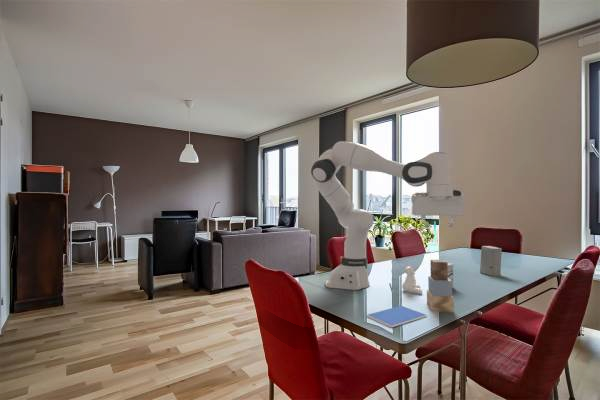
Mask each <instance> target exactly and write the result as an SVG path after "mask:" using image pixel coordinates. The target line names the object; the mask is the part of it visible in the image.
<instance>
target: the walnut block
mask: <svg viewBox="0 0 600 400" xmlns="http://www.w3.org/2000/svg"><path fill="white" fill-rule="evenodd" d="M448 263H449V262H448V261H446V260H444V259H430V276H431V278H433V279H434V280H448Z"/></svg>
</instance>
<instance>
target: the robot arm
mask: <svg viewBox="0 0 600 400" xmlns="http://www.w3.org/2000/svg"><path fill="white" fill-rule="evenodd" d="M342 167H347V168H349V169H353V170H358V171H364V172H375V173H376V172H378V173H382V174H387V175H391V176H393V177H395V178H400V179H402V180H403V181H405V182H406V183H407V185H410V187H414V188H416V187H422V186H423V185H425V184H426V192H415V193H413V194H412V195H411V196H410V197H411V203H412V204H411V214H412V215H413V216H418V217H419V216H420V219H421V221H422V222H423V227H424V228H429V227H430V223H429V222H428V221H426V219H427V216H429V217H430V216H434V217H435V216H438V217H439V216H444V217H445V216H446V217H447V216H450V218H451V221H450V222H448V228H454V227H455V223H456V221H457V219H458V216H460V217H461V216H466V215H467V213H468V207H467V201H466V198H464V196H465V192H464V191H462V190H461V189H460V190H459V189H455V188H453V187H452V185H451V181H450V177H451V160H450V157H449V155H448V154H447V153H444V152H441V151H429V152H428V153H426V154H425V155H424V156H422V157H419V158H418V159H416V160H413V161H409V162H408V163H405V164H404V163H401V162H398V161H394V160H391V159H388V158H386V157H384V156H383V155H381V154H380V153H379V152H377V150H375V149H373V148H371V147H369V146H366V145H365V144H360V143H356V142H351V141H337V142H336V143H334V144H333V146H330V147H329V148H327V149H325V151H324V152H322V154H320V156H319V157H318V158H317V160H316V161H315V162H314V163H313V165H312V167H311V169H310V173H311V176H312V178H313V179H314V185H315V186H316V188H317V190H318V191H319V194H320V195H321V196H322V197H323V198H324V200H325V201H326V202H327V203H328V205H329V206H330V208H331V209H332V211H333V212H334V214H335V217H336V218H337V220H338V221H337V222H338V223H339V224H340V226H342V227H343V228H344V229H347V235H346V239H345V240H344V242H343V243H344V247H343V250H344V255H343V256H342V255H341V256H340V257H339V261H340V264H339V265H338V266H336V267H335V268H334V269H332V270H331V272H330V275H329V279H326V280H325V284H324V285H325V286H326V288H329V289H330V288H331V289H341V290H354V291H359V290H361V289H366V288H369V287H370V281H369V277H368V271H367V270H368V257H367V242H368V241H367V240H368V235H369V232H370V229H371V228H373V225H374V217H373V215H372V213H370V212H369V211H368V210H366V209H361V208H356V207H355V206H354V204H353V201H352V200H351V195H350V193H349V192H348V191H347V189H346V188H345V186H343V184H342V183H341V182H340V180H339V179H338V178H337V176H336V174H337V173H338V172H339V170H340V169H341V168H342Z"/></svg>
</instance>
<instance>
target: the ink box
mask: <svg viewBox="0 0 600 400" xmlns="http://www.w3.org/2000/svg"><path fill="white" fill-rule="evenodd" d="M448 278H449V279H450V280H451V281H452V289H453V288H454V263H449V262H448Z"/></svg>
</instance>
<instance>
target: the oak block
mask: <svg viewBox="0 0 600 400" xmlns="http://www.w3.org/2000/svg"><path fill="white" fill-rule="evenodd" d="M454 301H455V300H454V296H453V295H452V297H447V296H433V295H432V294H431V293H430V292H429V289H427V290H426V305H427V306H428V308H429V309H430V311H431V312H440V313H441V312H442V313H443V312H444V313H454V312H455V308H454V307H455V305H454V304H455V302H454Z"/></svg>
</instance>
